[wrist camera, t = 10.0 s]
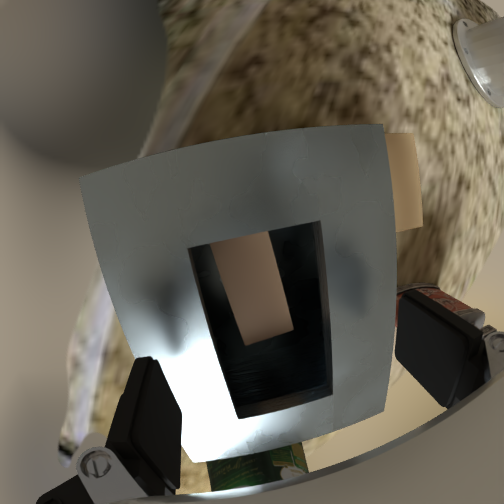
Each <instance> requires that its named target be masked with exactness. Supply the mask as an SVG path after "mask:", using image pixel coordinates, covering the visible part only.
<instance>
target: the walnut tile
mask: <svg viewBox="0 0 504 504" xmlns="http://www.w3.org/2000/svg"><path fill="white" fill-rule="evenodd" d="M210 246H211V249H212V252H213V255H214V258H215V261H216V264H217V267H218V270H219V273H220V276H221V279H222V282H223V285H224V288H225V291H226V294H227V297H228V299H229V302H230V305H231V308H232V311H233V314H234V316H235V319H236V322H237V325H238V328H239V330H240V333H241V336H242V339H243V341H244V344H245V346H246V345H249V344H252V343H256V342H259V341H262V340H265V339H268V338H271V337H274V336H277V335H280V334H283V333H286V332H289V331H292V330H294V328H293V324H292V321H291V317H290V313H289V309H288V305H287V301H286V297H285V293H284V290H283V286H282V282H281V278H280V274H279V271H278V267H277V263H276V259H275V256H274V252H273V248H272V244H271V241H270V237H269V233H268V231H265V232H260V233H256V234H251V235H246V236H241V237H237V238H232V239H227V240H223V241H218V242H213V243H210Z"/></svg>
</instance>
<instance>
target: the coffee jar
mask: <svg viewBox="0 0 504 504" xmlns="http://www.w3.org/2000/svg"><path fill="white" fill-rule="evenodd" d="M206 463H207V469H208V474H209V479H210V485H211V491H212V492H216V491H224V490H231V489H238V488H244V487H250V486H256V485H261V484H266V483H271V482H276V481H280V480H284V479H288V478H292V477H296V476H300V475H303V474H307V473H309V471H308V467H307V463H306V459H305V454H304V450H303V446H302V442H299V443H295V444H292V445H288V446H284V447H280V448H276V449H272V450H267V451H263V452H258V453H253V454H248V455H243V456H237V457H231V458H225V459H218V460H210V461H206Z"/></svg>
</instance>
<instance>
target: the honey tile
mask: <svg viewBox="0 0 504 504" xmlns="http://www.w3.org/2000/svg"><path fill="white" fill-rule="evenodd" d="M385 139H386V145H387V151H388V158H389V165H390V172H391V180H392V189H393V199H394V211H395V226H396V233H397V232H401V231H405V230H409V229H413V228H417V227H421V226H423V214H422V198H421V186H420V176H419V168H418V160H417V153H416V146H415V140H414V134H413V133H386V134H385Z"/></svg>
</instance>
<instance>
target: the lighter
mask: <svg viewBox="0 0 504 504" xmlns="http://www.w3.org/2000/svg"><path fill="white" fill-rule="evenodd" d="M414 289H415V290H418V291H419V292H421V293H423V294H424V295H426V296H428V297H429V298H431V299H432V300H434V301H436V302H437V303H439V304H441V305H442V306H444V307H445V308H447V309H449V310H450V311H452V312H453V313H455V314H456V315H458V316H459V317H461V318H463V319H464V320H466V321H467V322H469V323H470V324H472V325H473V326H475V327H476V328H478V329H479V330H481V331H482V332H484V333H483V337H482V340H484V341H485V339H486V337H487V336H488V335H489V334H490V333H493V332H497V330H496V329H495V328H493V327H492V326H490V325H487V326H485V327H483V324H484V321H485V314H484V312H482V311H481V310H479V309H473V308H471V307H469V306H468V305H466V304H464V303H462V302H461V301H459V300H457V299H455V298H453V297H452V296H450V295H448V294H446V293H444V292H443V291H441V290H440V288H439V287H437V286H436V285H434V284H430V283H412V284H408V285H404V286H400V287H397V294H396V317H395V326H396V327H397V322H398V305H399V299H400V298H401V296H402V294H403V293H406V292H408V291H411V290H414Z"/></svg>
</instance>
